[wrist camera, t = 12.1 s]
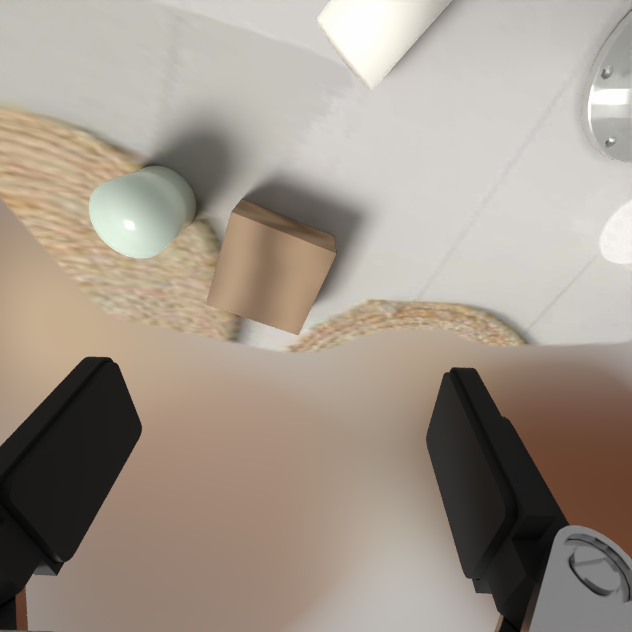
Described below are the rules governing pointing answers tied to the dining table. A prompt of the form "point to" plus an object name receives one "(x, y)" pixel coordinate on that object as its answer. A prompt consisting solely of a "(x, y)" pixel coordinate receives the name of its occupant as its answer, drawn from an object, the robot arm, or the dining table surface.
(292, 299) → the tan box
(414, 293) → the dining table surface
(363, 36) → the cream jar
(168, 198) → the pale green rounded cylinder
